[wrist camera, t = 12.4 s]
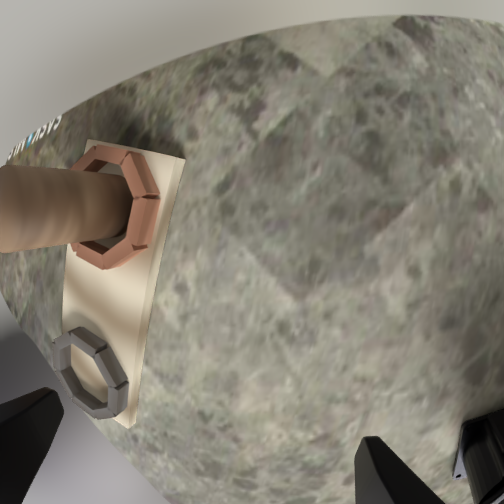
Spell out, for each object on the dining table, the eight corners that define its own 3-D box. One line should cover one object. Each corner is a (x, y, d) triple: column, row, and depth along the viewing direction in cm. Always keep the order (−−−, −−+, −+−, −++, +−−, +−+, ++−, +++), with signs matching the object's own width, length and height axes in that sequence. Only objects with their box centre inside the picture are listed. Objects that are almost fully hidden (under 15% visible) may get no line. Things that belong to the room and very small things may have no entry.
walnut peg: (131, 243, 20) (19, 263, 12) (88, 230, 21) (-14, 242, 13) (141, 178, 19) (26, 166, 11) (96, 171, 20) (-8, 163, 12)
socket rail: (98, 141, 22) (73, 136, 19) (185, 159, 19) (162, 153, 17) (71, 377, 26) (53, 387, 24) (135, 422, 24) (118, 437, 22)
